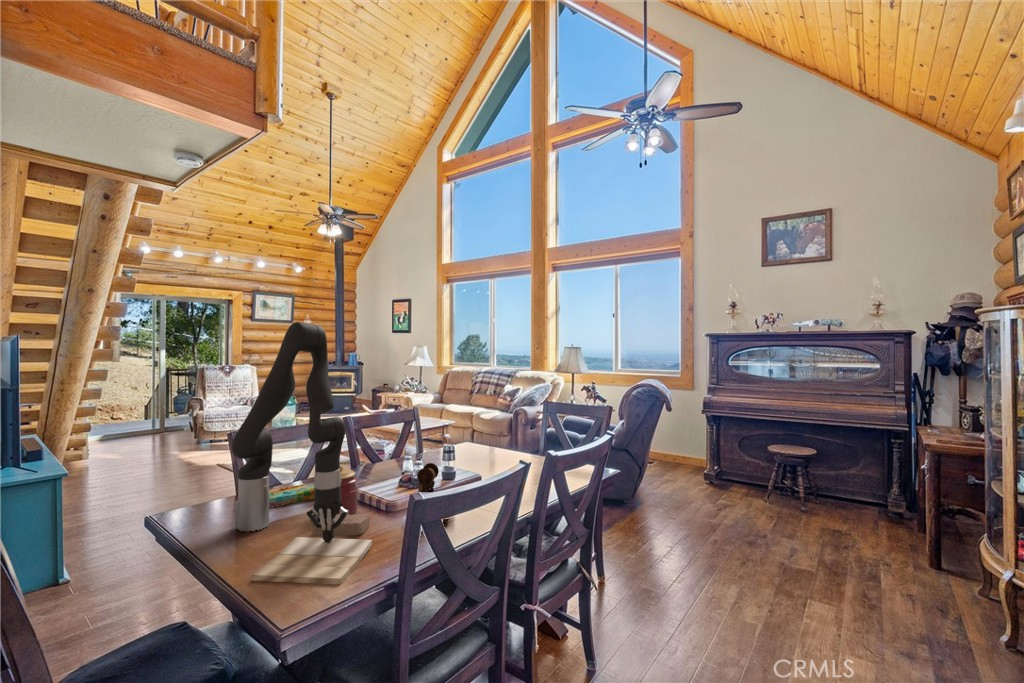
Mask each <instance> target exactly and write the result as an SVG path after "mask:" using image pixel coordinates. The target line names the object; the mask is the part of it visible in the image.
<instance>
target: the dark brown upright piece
mask: <svg viewBox="0 0 1024 683" xmlns="http://www.w3.org/2000/svg"><path fill="white" fill-rule="evenodd" d="M438 475H439V468H438V465H436V464H435V463H432V462H429V463H426V464H424V466H423V468H420V469H419V470H418V471H417V474H416V478H417V480H418V491H417V493H418V492H433V491H436V490H434V488H435V485H436V481H435V478H437V477H438ZM449 521H450V518H449V519H443V523H444V524H446V523H448V522H449Z"/></svg>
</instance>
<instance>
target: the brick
mask: <svg viewBox="0 0 1024 683" xmlns="http://www.w3.org/2000/svg"><path fill="white" fill-rule="evenodd" d="M339 517H340V516H339V514H337V515H336V519H335V522H336V521H337V520H338V519H339ZM370 522H371V515H370V513H355V514H353V515H347V516H346V517H345V519H344V520H343V521H342V523H341V524H340V525H339V526H338V527H337V528H336V529H334V536H359V535H362V534H364V533H365V532H366V530H368V529H369V527H370ZM312 534H320V535H319V536H323V530H322V529H321V528H317V527H316V526H315V525H314V524H313V527H312Z"/></svg>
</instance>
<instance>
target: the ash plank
mask: <svg viewBox="0 0 1024 683" xmlns="http://www.w3.org/2000/svg"><path fill="white" fill-rule="evenodd" d="M372 545H373V539H364V538H363V539H361V538H358V539H357V538H333V539H332V540H331V541H330V542H324V540H323V537H302V536H296V537H295V538H294V539H293V540H291V541H290V543H288V544H287V546H285V548H284V549H283V550H282V551H280V553H279V555H306V556H333V557H359V563H360V562H361V561H362V559H363V558H364V557H365V555H366V554H367V552H368V551H369V549H370V548H371V546H372Z"/></svg>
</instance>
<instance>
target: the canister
mask: <svg viewBox="0 0 1024 683" xmlns="http://www.w3.org/2000/svg"><path fill="white" fill-rule="evenodd" d="M340 473H341V503H342V507H343V508H344V509H345V510H347V509H348V510H349V513H348V515H353V514H357V511H358V508H359V506H358V505H359V502H358V489H359V488H358V486H357V483H358V481H359V479H358V477H356V476H355V475H356V471H354V470H352V469H351V468H345V467H343V465H342V464H340ZM339 513H340V511H339ZM339 513H338V514H339Z"/></svg>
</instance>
